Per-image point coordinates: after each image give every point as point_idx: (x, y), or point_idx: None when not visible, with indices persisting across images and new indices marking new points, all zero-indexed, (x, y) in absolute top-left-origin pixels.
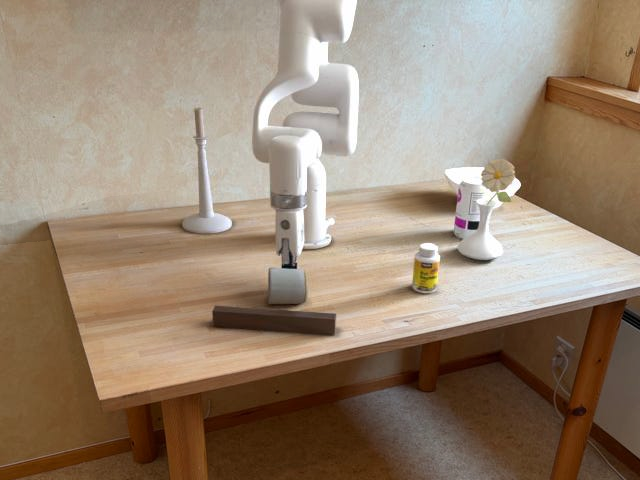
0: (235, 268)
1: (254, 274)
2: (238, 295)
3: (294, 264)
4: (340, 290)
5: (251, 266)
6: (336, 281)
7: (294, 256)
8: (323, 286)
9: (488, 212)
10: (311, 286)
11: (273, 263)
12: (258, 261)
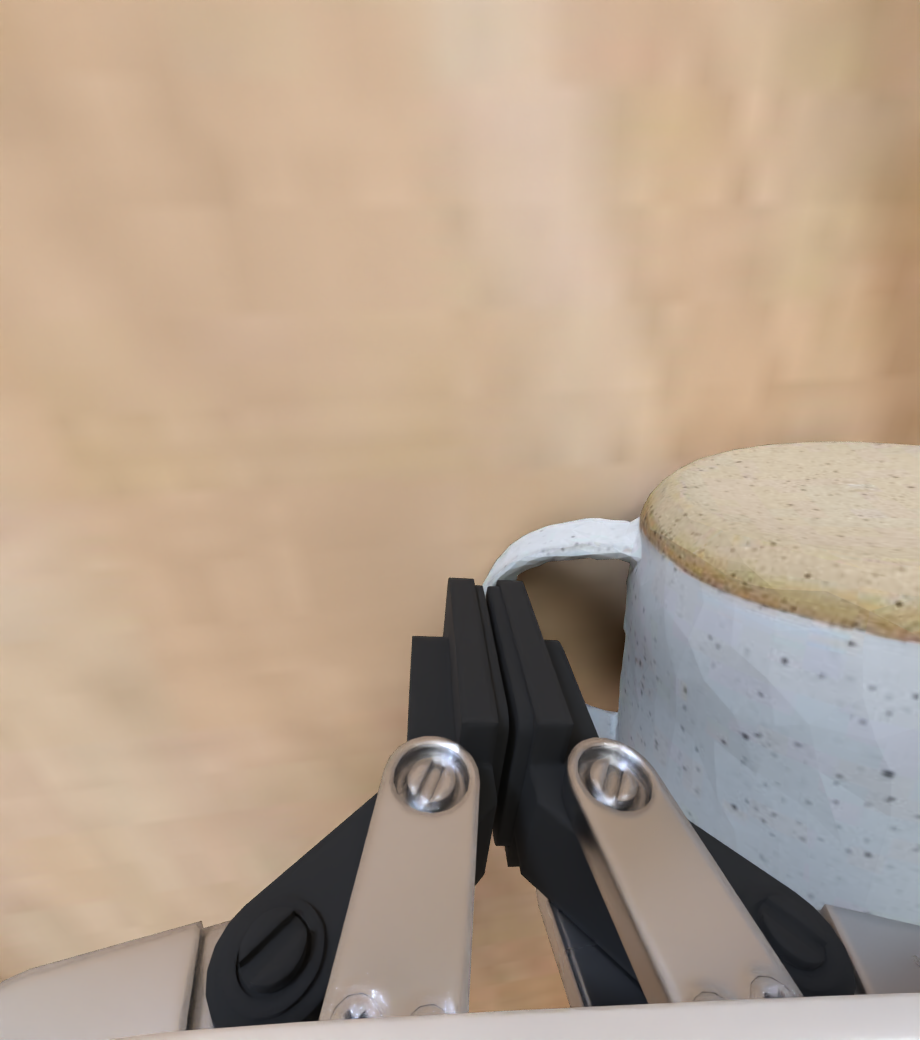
0: (202, 903)
1: (264, 814)
2: None
3: (609, 763)
4: (505, 6)
5: (134, 846)
6: (225, 69)
7: (705, 938)
8: (405, 267)
9: None
10: (419, 405)
11: (6, 744)
12: (21, 827)
